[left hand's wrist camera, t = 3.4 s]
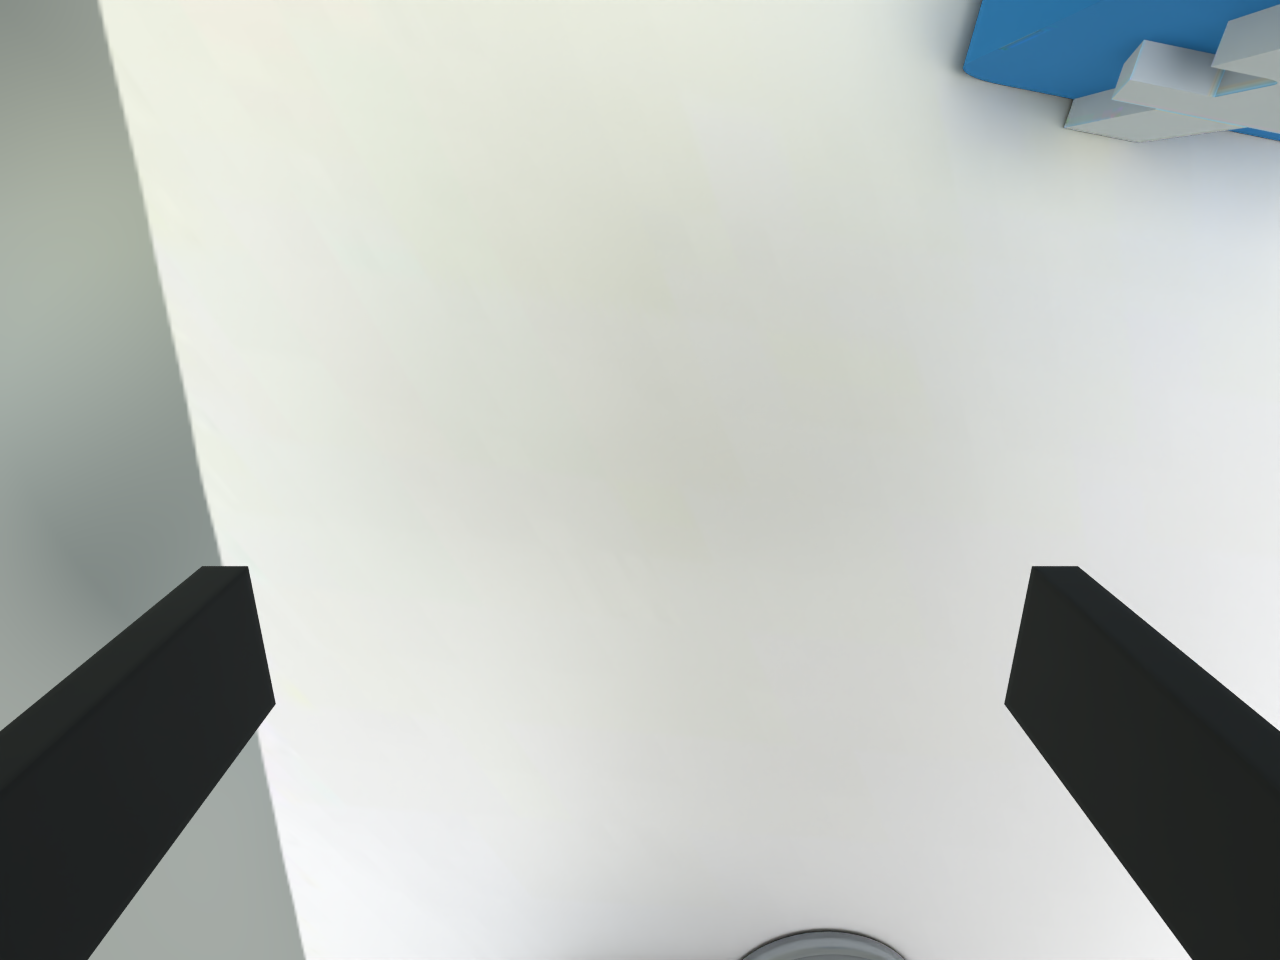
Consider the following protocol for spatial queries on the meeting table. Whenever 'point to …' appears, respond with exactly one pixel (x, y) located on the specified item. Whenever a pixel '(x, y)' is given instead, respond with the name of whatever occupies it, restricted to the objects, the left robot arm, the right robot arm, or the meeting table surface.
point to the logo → (1139, 62)
